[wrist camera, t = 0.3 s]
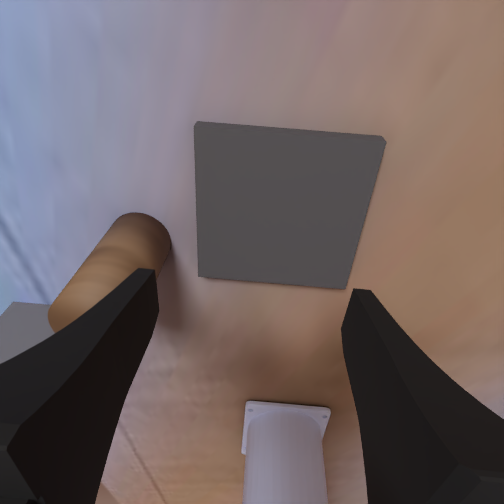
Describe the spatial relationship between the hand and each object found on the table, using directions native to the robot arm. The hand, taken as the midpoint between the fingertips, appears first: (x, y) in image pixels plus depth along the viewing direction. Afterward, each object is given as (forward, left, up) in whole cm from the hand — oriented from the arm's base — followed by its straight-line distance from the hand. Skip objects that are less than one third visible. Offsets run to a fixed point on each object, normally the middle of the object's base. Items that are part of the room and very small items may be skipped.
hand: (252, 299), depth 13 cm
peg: (-4, +8, -10) cm, 13 cm away
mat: (-1, -1, -10) cm, 10 cm away
